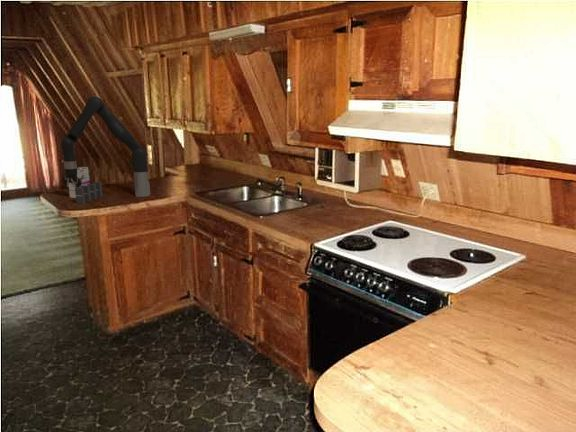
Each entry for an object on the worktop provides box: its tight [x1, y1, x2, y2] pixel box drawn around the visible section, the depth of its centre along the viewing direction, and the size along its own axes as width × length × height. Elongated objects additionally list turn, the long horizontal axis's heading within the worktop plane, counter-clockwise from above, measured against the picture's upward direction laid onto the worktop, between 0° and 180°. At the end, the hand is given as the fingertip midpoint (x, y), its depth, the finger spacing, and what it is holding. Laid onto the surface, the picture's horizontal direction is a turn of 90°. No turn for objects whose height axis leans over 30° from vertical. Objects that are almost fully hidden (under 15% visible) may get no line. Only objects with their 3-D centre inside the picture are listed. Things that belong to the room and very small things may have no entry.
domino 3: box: [87, 183, 98, 200], centre depth 306 cm, size 2×5×10 cm, turn 75°
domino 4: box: [92, 181, 104, 198], centre depth 311 cm, size 2×5×10 cm, turn 75°
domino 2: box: [81, 185, 92, 202], centre depth 300 cm, size 2×5×10 cm, turn 75°
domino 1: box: [75, 187, 86, 205], centre depth 295 cm, size 2×5×10 cm, turn 75°
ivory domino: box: [68, 183, 77, 199], centre depth 309 cm, size 2×5×10 cm, turn 75°
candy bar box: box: [75, 166, 91, 188], centre depth 329 cm, size 11×5×16 cm, turn 143°
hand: (73, 192), depth 309 cm, fingers closed on ivory domino, 5 cm apart
